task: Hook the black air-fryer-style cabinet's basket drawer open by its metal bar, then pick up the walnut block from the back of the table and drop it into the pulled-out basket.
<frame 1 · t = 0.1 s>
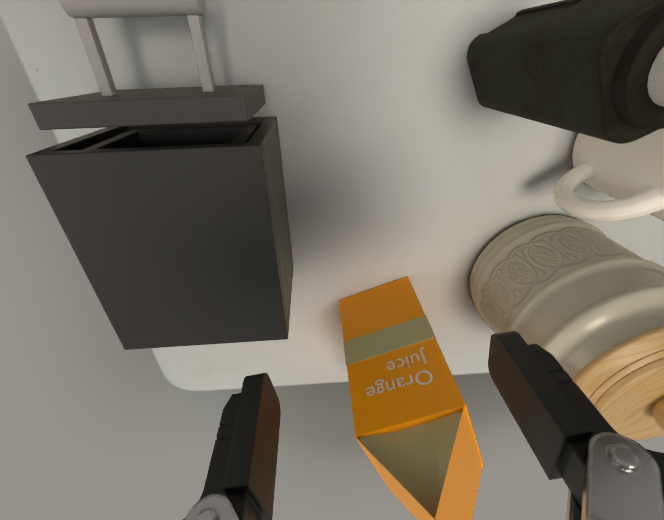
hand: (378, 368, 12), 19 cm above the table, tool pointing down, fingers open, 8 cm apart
orange juice: (384, 316, 36), on the table
basket: (183, 157, 21), point 5 cm above the table, slide at 1.0 cm
jar: (527, 268, 34), on the table
candle: (505, 61, 24), on the table
mug: (593, 148, 28), on the table
fryer: (218, 204, 28), on the table
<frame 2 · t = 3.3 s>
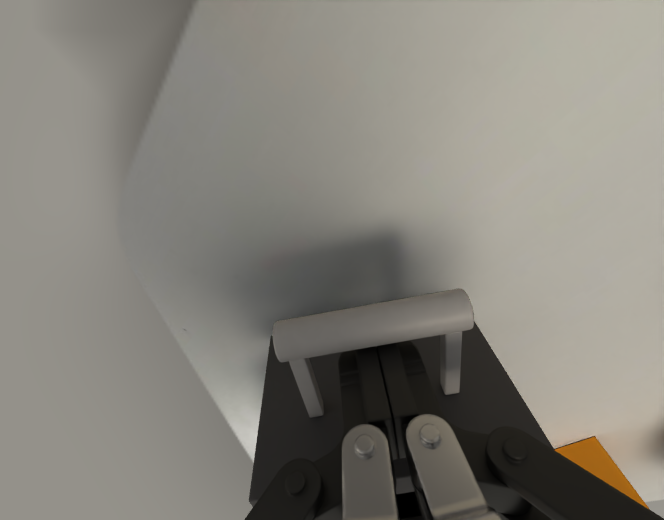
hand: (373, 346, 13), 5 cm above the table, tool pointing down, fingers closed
orange juice: (556, 469, 30), on the table
basket: (386, 428, 16), point 5 cm above the table, slide at 1.7 cm, touching gripper
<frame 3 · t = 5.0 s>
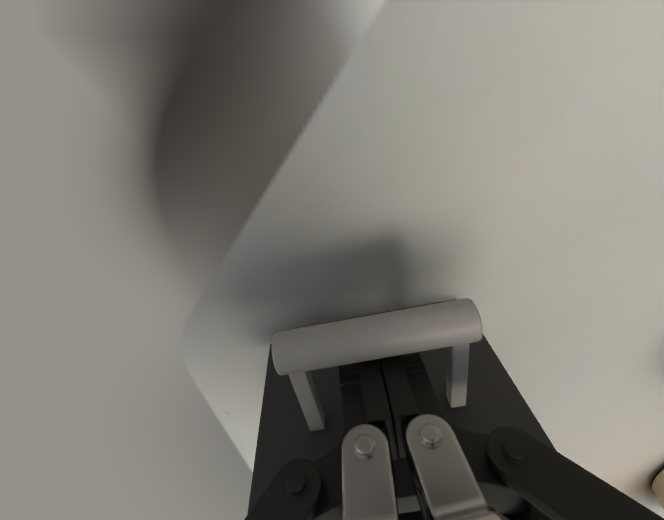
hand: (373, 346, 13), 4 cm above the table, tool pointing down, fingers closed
basket: (389, 440, 16), point 5 cm above the table, slide at 8.7 cm, touching gripper
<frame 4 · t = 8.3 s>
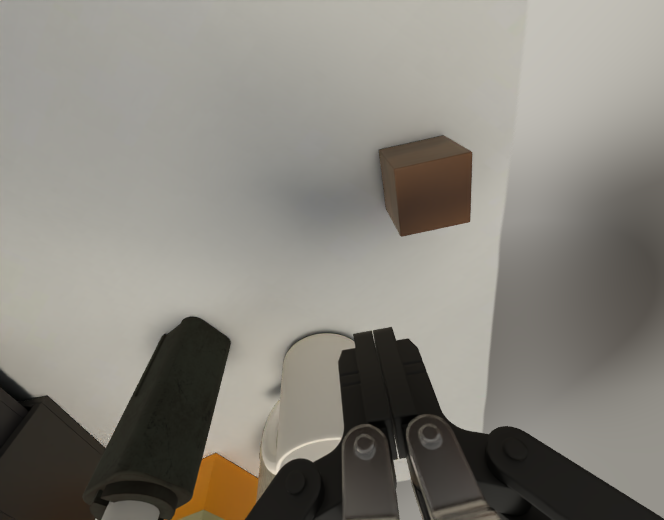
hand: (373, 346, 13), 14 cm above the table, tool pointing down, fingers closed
orange juice: (216, 474, 44), on the table
jar: (315, 433, 40), on the table
candle: (197, 340, 31), on the table
block: (413, 174, 23), on the table
mug: (310, 366, 34), on the table
fryer: (38, 441, 37), on the table
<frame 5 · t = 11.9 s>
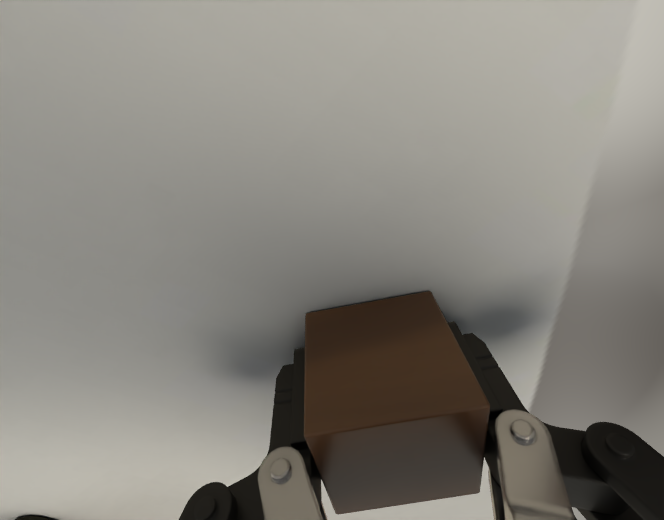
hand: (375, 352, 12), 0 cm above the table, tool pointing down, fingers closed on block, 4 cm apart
block: (374, 345, 13), on the table, touching gripper
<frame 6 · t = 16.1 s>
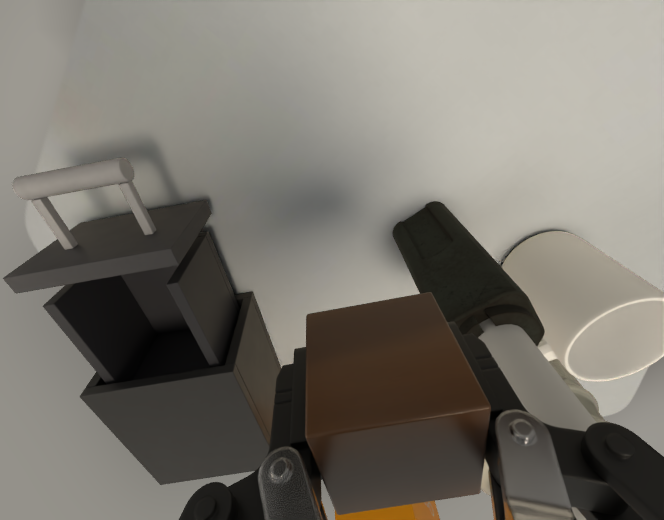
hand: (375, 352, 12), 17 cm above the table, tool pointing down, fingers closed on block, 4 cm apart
orange juice: (369, 404, 42), on the table
basket: (144, 277, 25), point 5 cm above the table, slide at 8.8 cm
jar: (487, 359, 39), on the table
candle: (425, 232, 30), on the table
block: (375, 346, 13), point 17 cm above the table, touching gripper
mug: (519, 274, 33), on the table
fryer: (218, 349, 35), on the table
when the fingers open (8 cm above the table, at t = 20.2 s): block drops 6 cm, resting on basket.
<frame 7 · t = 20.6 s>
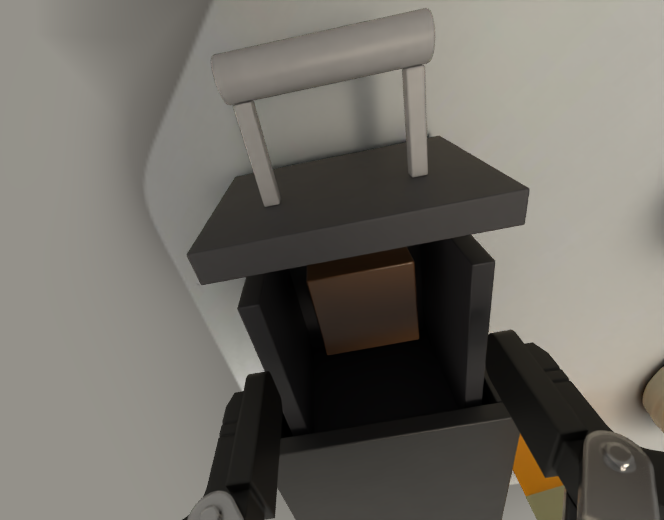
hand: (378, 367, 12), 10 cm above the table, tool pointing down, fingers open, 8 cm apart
orange juice: (537, 431, 33), on the table
basket: (356, 260, 15), point 5 cm above the table, slide at 8.8 cm, touching block
block: (355, 259, 18), point 2 cm above the table, touching basket
fryer: (372, 365, 26), on the table
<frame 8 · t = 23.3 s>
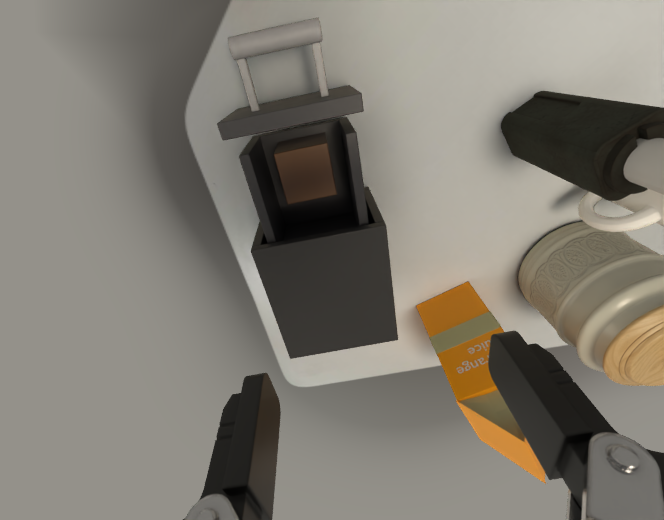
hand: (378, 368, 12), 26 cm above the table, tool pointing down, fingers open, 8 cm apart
orange juice: (451, 313, 46), on the table
basket: (301, 149, 28), point 5 cm above the table, slide at 8.8 cm, touching block
jar: (564, 263, 43), on the table
candle: (529, 125, 33), on the table
block: (306, 161, 32), point 2 cm above the table, touching basket
mug: (606, 170, 36), on the table
fryer: (327, 249, 39), on the table
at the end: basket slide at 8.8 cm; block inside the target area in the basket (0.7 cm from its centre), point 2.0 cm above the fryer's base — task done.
